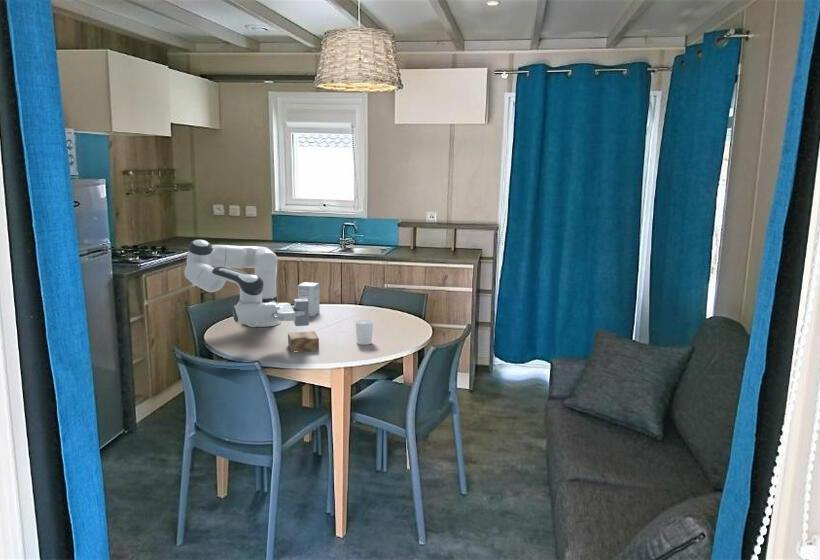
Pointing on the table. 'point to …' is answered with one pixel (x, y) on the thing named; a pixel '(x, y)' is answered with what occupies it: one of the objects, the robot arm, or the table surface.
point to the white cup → (364, 332)
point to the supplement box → (310, 296)
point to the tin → (301, 306)
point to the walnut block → (303, 341)
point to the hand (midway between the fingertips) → (303, 310)
